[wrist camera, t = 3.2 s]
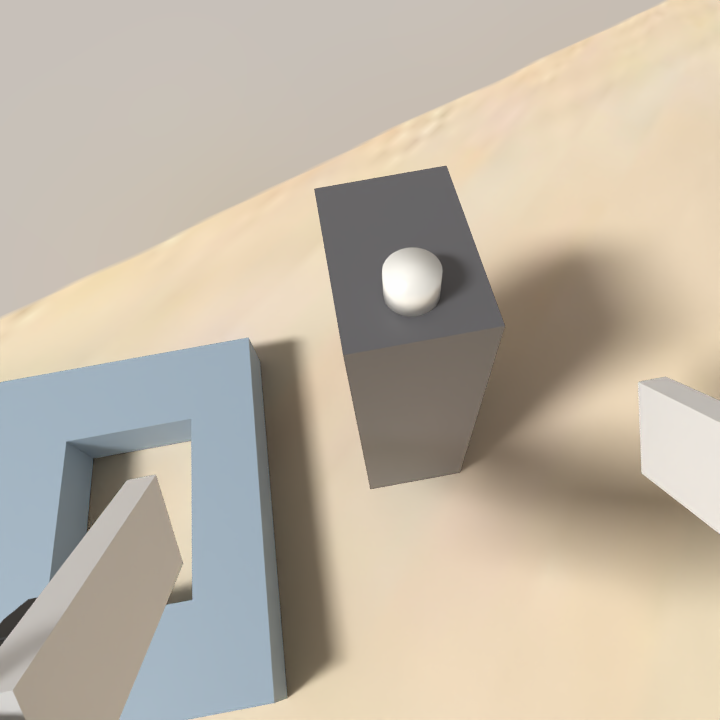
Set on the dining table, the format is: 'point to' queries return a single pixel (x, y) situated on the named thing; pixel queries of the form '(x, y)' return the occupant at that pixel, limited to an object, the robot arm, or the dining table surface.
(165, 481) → the dining table surface
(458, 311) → the servo block
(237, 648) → the plate
